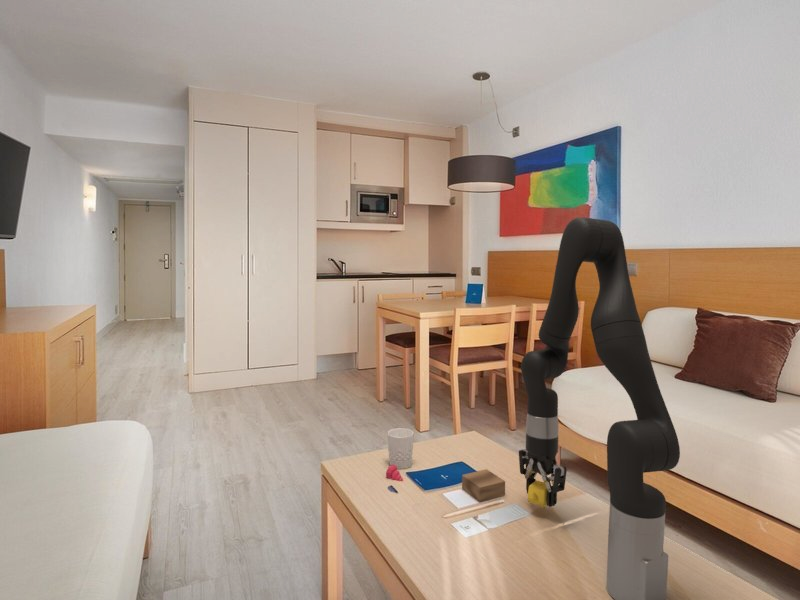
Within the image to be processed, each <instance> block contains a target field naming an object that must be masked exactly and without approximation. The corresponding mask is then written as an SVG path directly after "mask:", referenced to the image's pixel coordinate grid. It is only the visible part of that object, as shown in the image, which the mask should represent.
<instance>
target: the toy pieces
mask: <svg viewBox="0 0 800 600" xmlns="http://www.w3.org/2000/svg"><path fill="white" fill-rule="evenodd" d="M385 477H386V479H391V480H392V481H396V482H404V478H403V477H402V475H401V472H400V471H399V469H397V466H396V465H390V464H389V466H388V467H387V469H386V471H385ZM387 490H388V491H389V492H392V493H395V494H397V493H399V491H398V490H397V489H396V488H395V487H394V486H393V485H388V486H387Z"/></svg>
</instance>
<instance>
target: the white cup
mask: <svg viewBox="0 0 800 600" xmlns="http://www.w3.org/2000/svg"><path fill="white" fill-rule="evenodd" d="M414 434H415V432H414V431H413V430H411V429H410V428H405V427H404V428H403V427H401V428H400V427H397V428H396V427H395V428H392V429H389V430H388V431H387V450H388V459H389V460H388V461H389V466H390V465H396V466H397V470H403V469H405V470H406V469H408V468H411V466H412V464H413V454H414V452H413V450H414V449H413V448H414Z"/></svg>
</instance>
